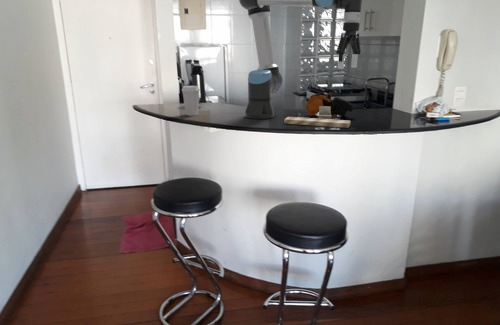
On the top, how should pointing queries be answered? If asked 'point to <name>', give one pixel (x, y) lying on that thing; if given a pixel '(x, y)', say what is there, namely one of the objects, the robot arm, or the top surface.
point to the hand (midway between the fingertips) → (347, 68)
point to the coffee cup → (191, 99)
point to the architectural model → (324, 112)
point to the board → (317, 122)
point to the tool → (336, 105)
